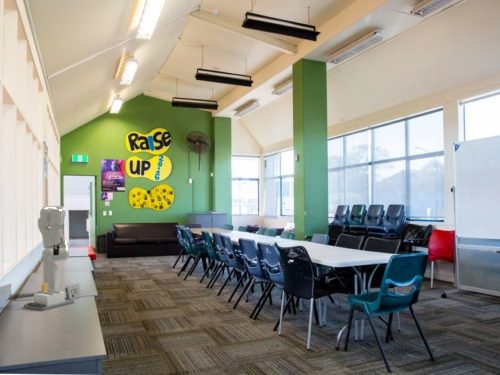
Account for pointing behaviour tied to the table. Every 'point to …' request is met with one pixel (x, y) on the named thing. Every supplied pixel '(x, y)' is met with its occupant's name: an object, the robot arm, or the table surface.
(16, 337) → the table surface
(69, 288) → the electrical switch
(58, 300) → the block
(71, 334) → the table surface
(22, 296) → the table surface
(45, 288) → the handle
